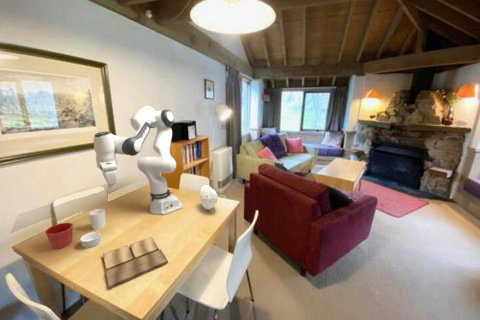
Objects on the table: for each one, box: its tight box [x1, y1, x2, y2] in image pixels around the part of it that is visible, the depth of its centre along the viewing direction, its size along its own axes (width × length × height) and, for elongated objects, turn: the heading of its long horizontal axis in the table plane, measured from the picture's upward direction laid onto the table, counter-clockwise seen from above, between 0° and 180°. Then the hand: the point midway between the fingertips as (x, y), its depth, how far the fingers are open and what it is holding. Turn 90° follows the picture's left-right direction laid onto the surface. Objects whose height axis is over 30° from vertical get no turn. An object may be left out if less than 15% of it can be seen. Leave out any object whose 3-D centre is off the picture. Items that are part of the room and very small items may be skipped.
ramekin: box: [79, 231, 101, 249], centre depth 111 cm, size 9×9×4 cm
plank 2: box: [129, 236, 160, 260], centre depth 108 cm, size 11×12×2 cm
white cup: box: [88, 208, 107, 230], centre depth 125 cm, size 8×8×10 cm
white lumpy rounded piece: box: [199, 184, 218, 212], centre depth 150 cm, size 18×11×17 cm, turn 32°
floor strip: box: [105, 248, 169, 290], centre depth 96 cm, size 24×11×2 cm, turn 129°
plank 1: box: [102, 245, 134, 271], centre depth 101 cm, size 11×12×2 cm
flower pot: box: [44, 222, 74, 250], centre depth 109 cm, size 11×11×10 cm
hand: (110, 187), depth 112 cm, fingers closed
